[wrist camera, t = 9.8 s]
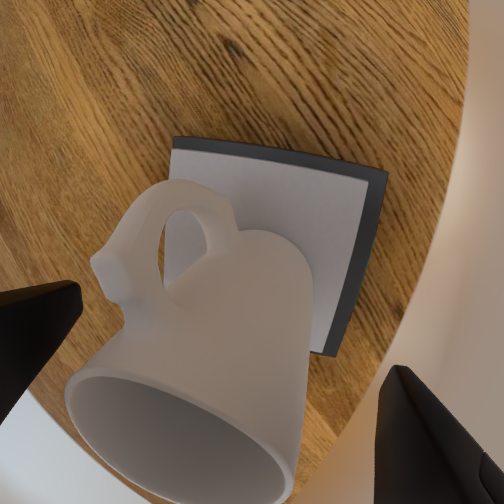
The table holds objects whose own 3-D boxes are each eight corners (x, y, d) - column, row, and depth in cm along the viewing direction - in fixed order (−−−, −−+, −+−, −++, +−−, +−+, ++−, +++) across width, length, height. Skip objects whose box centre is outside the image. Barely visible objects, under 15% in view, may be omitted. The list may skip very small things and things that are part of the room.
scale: (383, 169, 17) (394, 174, 14) (337, 339, 21) (337, 365, 18) (188, 136, 19) (168, 135, 16) (176, 301, 23) (159, 320, 20)
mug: (324, 327, 18) (305, 522, 7) (218, 335, 20) (129, 492, 9) (294, 150, 15) (211, 167, 4) (174, 178, 17) (-18, 246, 6)
